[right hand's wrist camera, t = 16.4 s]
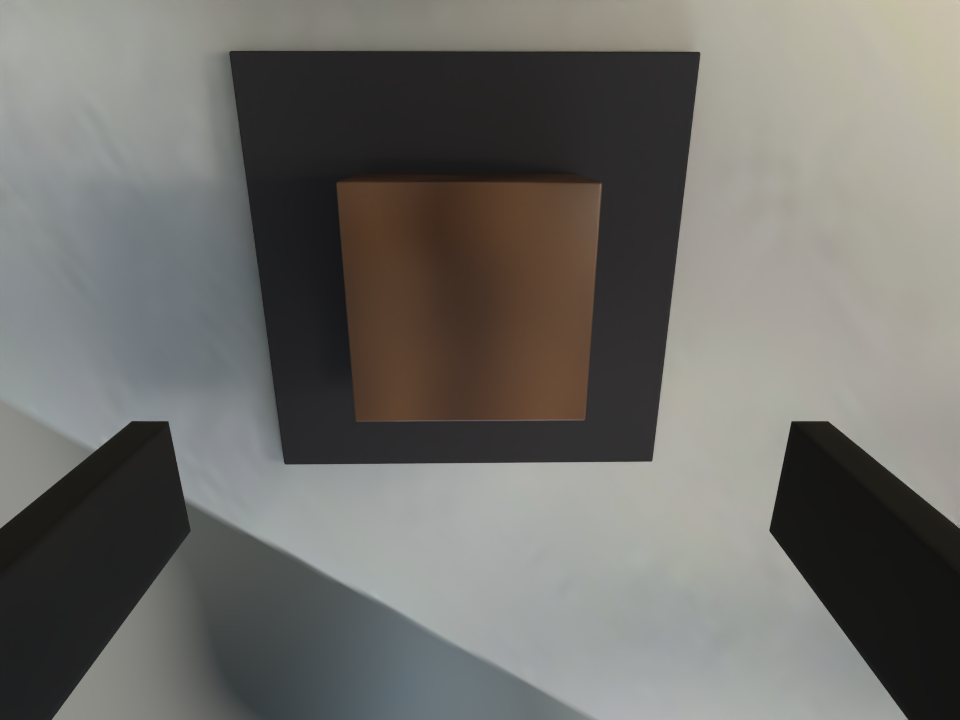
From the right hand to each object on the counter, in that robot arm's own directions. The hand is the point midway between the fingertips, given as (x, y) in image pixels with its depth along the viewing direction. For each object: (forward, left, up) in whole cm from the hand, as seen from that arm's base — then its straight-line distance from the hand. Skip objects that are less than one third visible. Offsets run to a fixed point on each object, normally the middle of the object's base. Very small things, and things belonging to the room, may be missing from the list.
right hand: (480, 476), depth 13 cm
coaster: (0, 0, -18) cm, 18 cm away
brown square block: (0, 0, -17) cm, 17 cm away
